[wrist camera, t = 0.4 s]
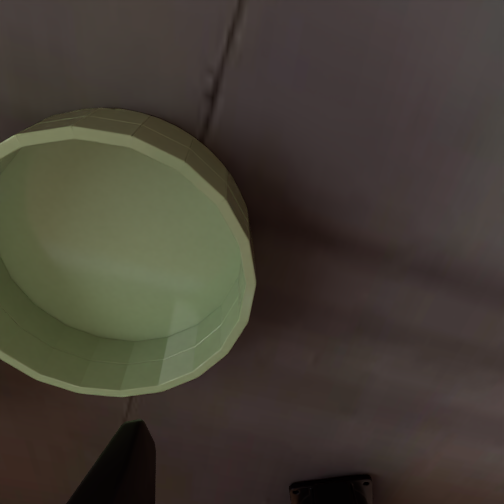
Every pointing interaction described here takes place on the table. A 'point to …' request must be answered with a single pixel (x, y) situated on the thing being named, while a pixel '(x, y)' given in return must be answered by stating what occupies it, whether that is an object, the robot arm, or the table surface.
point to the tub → (119, 254)
